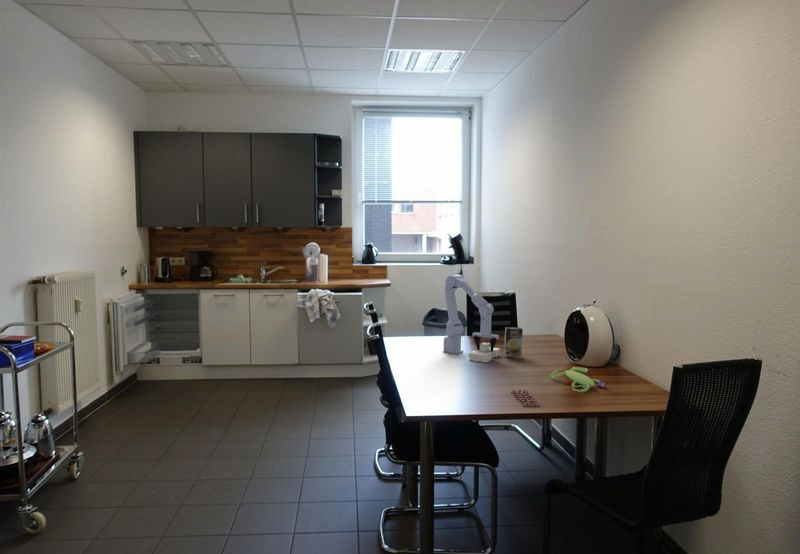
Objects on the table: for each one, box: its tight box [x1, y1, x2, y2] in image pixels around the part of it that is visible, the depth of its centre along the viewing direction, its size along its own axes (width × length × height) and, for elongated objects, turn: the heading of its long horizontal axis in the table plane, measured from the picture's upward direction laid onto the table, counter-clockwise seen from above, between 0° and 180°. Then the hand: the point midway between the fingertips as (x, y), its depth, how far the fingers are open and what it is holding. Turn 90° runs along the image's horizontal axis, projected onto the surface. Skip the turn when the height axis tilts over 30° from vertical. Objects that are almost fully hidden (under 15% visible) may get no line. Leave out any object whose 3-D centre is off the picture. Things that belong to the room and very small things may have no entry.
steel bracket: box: [480, 341, 491, 353], centre depth 302 cm, size 4×5×8 cm
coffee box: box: [503, 326, 524, 359], centre depth 305 cm, size 9×6×16 cm
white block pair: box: [469, 346, 501, 363], centre depth 302 cm, size 10×20×4 cm, turn 150°
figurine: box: [548, 366, 606, 393], centre depth 254 cm, size 18×27×6 cm
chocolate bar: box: [510, 389, 541, 407], centre depth 229 cm, size 7×19×2 cm, turn 3°
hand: (485, 350), depth 302 cm, fingers open, 7 cm apart
